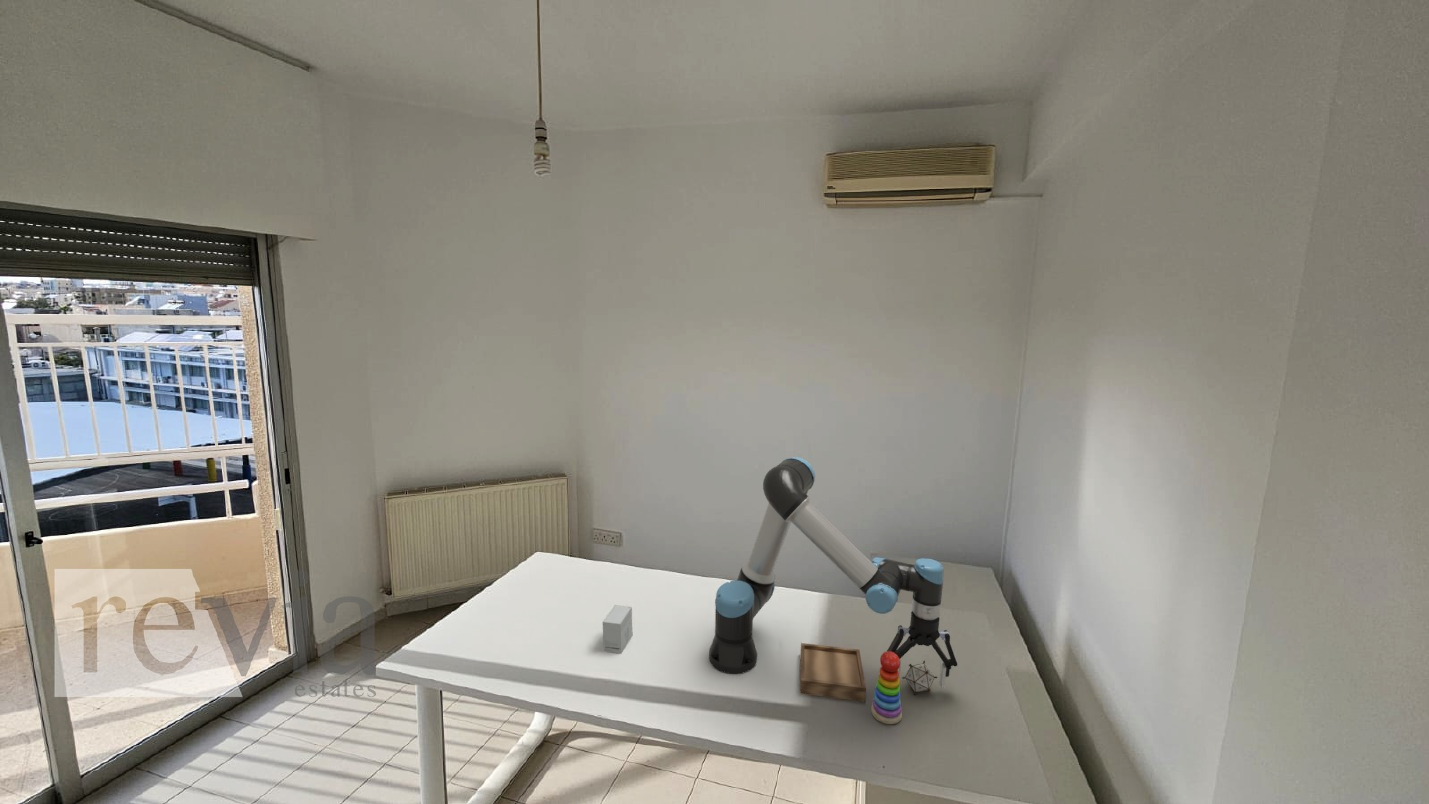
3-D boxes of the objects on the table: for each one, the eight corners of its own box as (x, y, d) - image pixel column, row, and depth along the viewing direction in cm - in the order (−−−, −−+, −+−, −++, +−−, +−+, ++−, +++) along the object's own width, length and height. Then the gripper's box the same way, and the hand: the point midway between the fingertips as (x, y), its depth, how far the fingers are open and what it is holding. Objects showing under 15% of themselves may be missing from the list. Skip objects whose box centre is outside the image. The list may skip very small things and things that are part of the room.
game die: (924, 705, 156) (941, 694, 149) (896, 691, 157) (912, 680, 150) (926, 675, 162) (943, 663, 156) (899, 662, 164) (915, 650, 157)
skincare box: (614, 632, 182) (614, 604, 180) (632, 635, 181) (632, 606, 179) (602, 651, 172) (601, 621, 170) (621, 654, 171) (621, 623, 169)
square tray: (800, 693, 154) (801, 680, 154) (800, 655, 172) (801, 643, 171) (865, 701, 152) (866, 688, 151) (858, 661, 169) (859, 649, 169)
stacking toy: (866, 705, 150) (871, 643, 147) (894, 704, 151) (899, 642, 148) (877, 726, 142) (882, 662, 140) (906, 725, 143) (912, 661, 140)
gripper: (883, 616, 151) (878, 686, 155) (974, 625, 148) (966, 697, 151) (879, 602, 159) (874, 669, 162) (966, 611, 155) (959, 679, 158)
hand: (919, 682), depth 157 cm, fingers open, 12 cm apart
